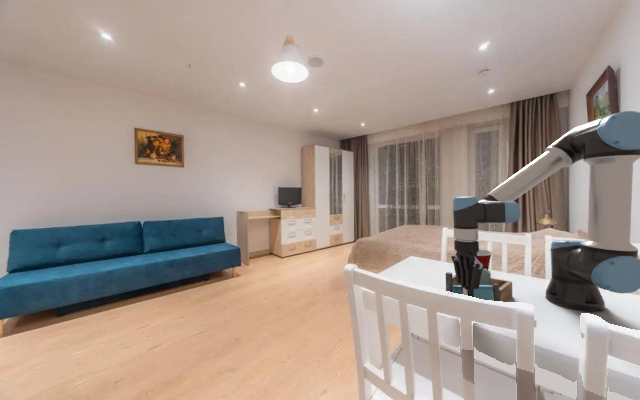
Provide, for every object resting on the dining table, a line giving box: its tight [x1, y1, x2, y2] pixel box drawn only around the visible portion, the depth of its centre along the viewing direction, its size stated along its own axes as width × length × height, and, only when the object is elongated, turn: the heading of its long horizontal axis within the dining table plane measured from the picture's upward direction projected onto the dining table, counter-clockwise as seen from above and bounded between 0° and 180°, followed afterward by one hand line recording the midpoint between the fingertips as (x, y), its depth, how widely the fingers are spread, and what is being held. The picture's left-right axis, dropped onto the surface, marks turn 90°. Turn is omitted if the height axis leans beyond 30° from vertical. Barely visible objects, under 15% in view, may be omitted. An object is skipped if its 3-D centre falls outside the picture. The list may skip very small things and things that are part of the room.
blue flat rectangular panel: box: [452, 285, 493, 300], centre depth 89 cm, size 14×1×7 cm, turn 86°
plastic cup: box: [477, 248, 493, 270], centre depth 122 cm, size 11×11×12 cm
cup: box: [480, 269, 492, 285], centre depth 99 cm, size 8×8×10 cm
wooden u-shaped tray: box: [445, 271, 513, 303], centre depth 99 cm, size 19×15×8 cm
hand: (468, 305), depth 86 cm, fingers closed
